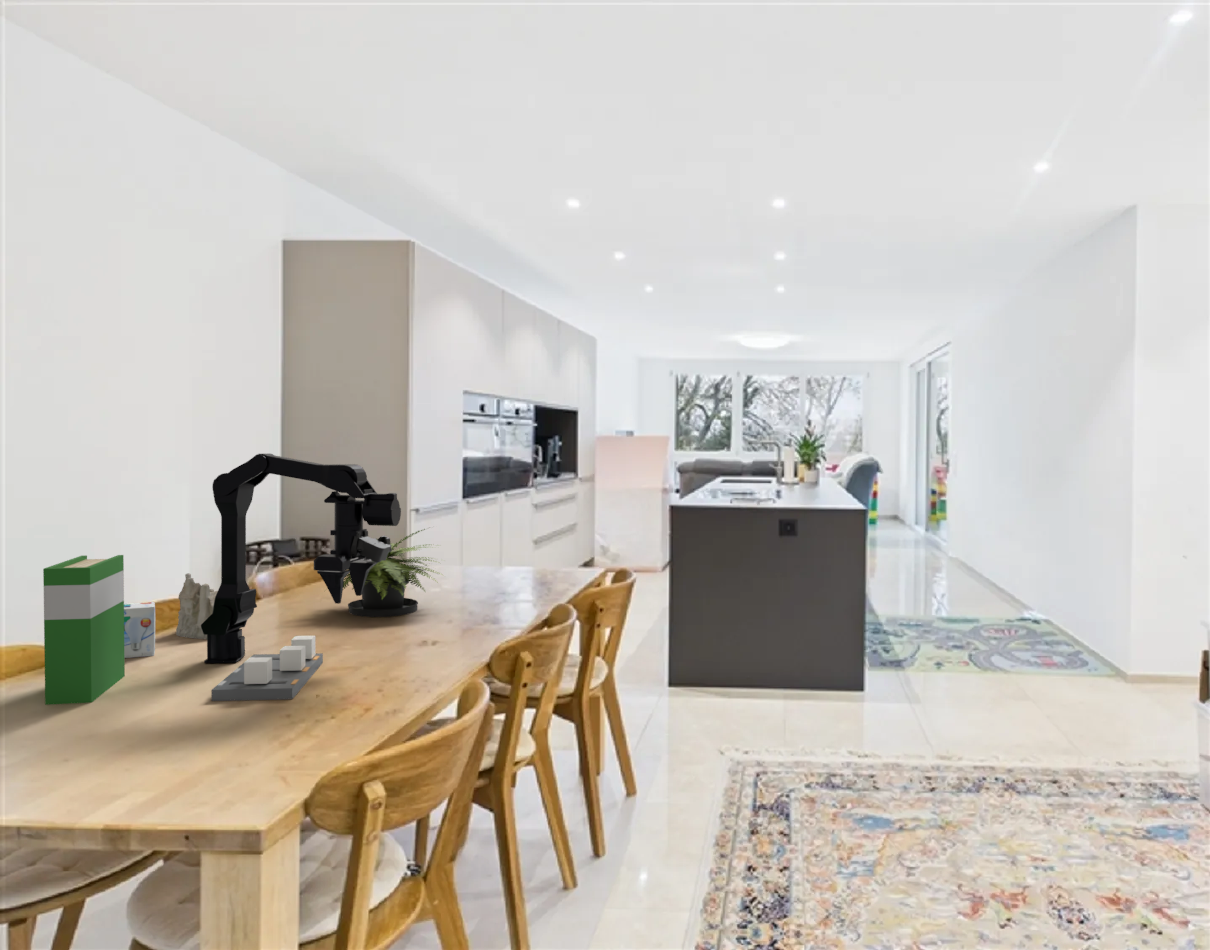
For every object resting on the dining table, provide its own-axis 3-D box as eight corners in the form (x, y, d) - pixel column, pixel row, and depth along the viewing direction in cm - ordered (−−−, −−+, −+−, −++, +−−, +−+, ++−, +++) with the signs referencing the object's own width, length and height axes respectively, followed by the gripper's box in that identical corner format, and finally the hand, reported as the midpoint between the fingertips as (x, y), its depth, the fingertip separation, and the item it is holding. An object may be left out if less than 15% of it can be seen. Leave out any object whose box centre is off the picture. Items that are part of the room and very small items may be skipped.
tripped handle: (244, 684, 159) (244, 662, 159) (249, 678, 162) (249, 657, 162) (267, 683, 159) (266, 661, 159) (272, 678, 163) (272, 657, 163)
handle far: (291, 659, 177) (291, 639, 177) (295, 654, 181) (295, 635, 181) (311, 658, 178) (311, 639, 178) (315, 654, 181) (315, 635, 181)
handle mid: (279, 670, 168) (279, 650, 168) (284, 666, 172) (284, 645, 172) (301, 670, 169) (301, 649, 169) (305, 665, 172) (305, 645, 172)
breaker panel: (211, 700, 156) (211, 689, 156) (253, 663, 182) (253, 653, 182) (292, 699, 158) (292, 687, 158) (322, 662, 184) (322, 652, 184)
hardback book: (83, 677, 170) (81, 555, 170) (124, 676, 172) (123, 554, 171) (45, 704, 153) (43, 568, 152) (91, 702, 155) (90, 567, 154)
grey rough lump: (205, 640, 202) (207, 575, 202) (162, 635, 210) (163, 572, 211) (262, 632, 215) (263, 571, 216) (219, 627, 224) (220, 568, 224)
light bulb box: (98, 661, 183) (97, 610, 183) (100, 654, 189) (99, 604, 189) (155, 655, 188) (155, 606, 188) (155, 649, 194) (155, 600, 194)
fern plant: (475, 615, 235) (476, 526, 234) (329, 630, 214) (329, 533, 213) (426, 594, 266) (426, 515, 265) (294, 606, 246) (294, 520, 245)
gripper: (364, 530, 171) (364, 609, 171) (403, 522, 189) (403, 593, 190) (312, 528, 173) (312, 606, 173) (355, 520, 191) (355, 591, 192)
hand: (348, 599), depth 182 cm, fingers open, 9 cm apart
